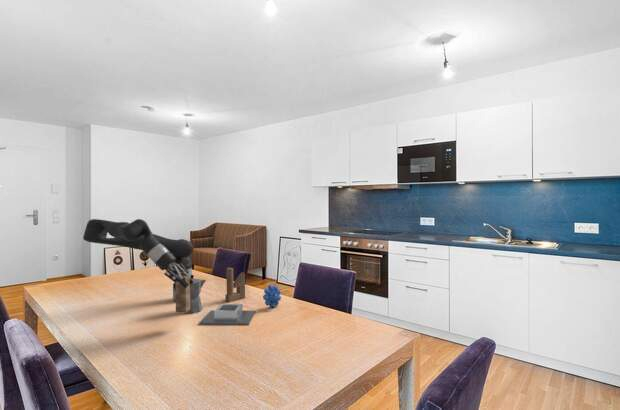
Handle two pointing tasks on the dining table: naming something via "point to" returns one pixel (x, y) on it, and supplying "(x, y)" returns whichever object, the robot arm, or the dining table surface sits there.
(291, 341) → the dining table surface
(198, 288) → the coffeepot
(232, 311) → the keeper cradle
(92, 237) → the robot arm
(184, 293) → the walnut post
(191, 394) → the dining table surface
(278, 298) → the grapes
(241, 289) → the brown wooden pegged bracket
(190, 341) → the dining table surface
